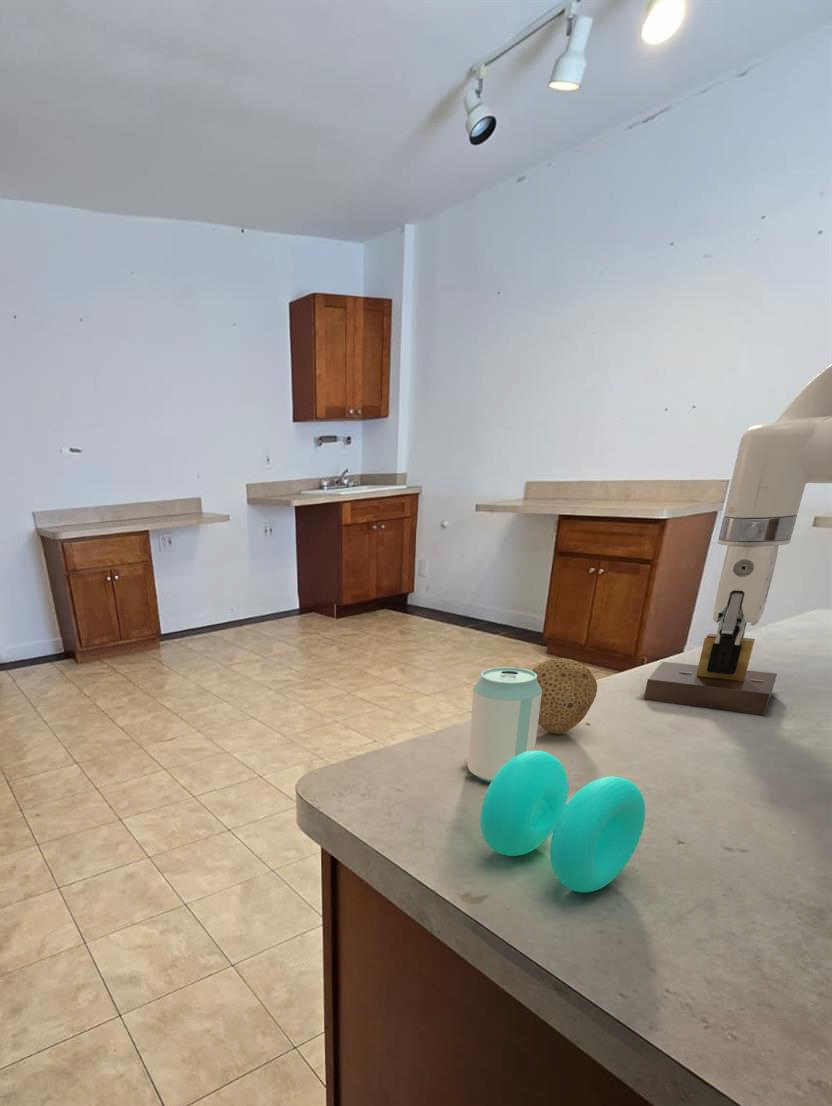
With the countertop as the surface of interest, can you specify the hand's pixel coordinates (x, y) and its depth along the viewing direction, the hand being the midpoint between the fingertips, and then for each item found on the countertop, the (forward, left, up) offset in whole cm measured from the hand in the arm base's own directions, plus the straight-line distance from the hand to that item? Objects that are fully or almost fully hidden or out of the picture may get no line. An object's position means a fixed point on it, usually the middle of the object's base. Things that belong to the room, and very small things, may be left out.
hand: (722, 669), depth 89 cm
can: (+16, +39, -4) cm, 42 cm away
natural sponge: (+15, +24, -4) cm, 29 cm away
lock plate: (+1, 0, -4) cm, 4 cm away
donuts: (+5, +55, -4) cm, 55 cm away
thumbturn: (0, 0, -1) cm, 1 cm away
